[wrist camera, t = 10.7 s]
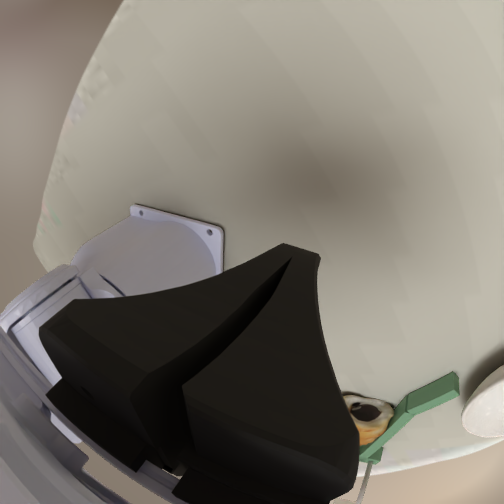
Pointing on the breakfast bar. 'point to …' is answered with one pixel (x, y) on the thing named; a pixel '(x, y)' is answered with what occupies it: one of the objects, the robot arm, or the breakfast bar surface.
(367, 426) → the pastry
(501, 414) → the spoon rest
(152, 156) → the breakfast bar surface
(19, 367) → the robot arm
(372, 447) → the green bars
